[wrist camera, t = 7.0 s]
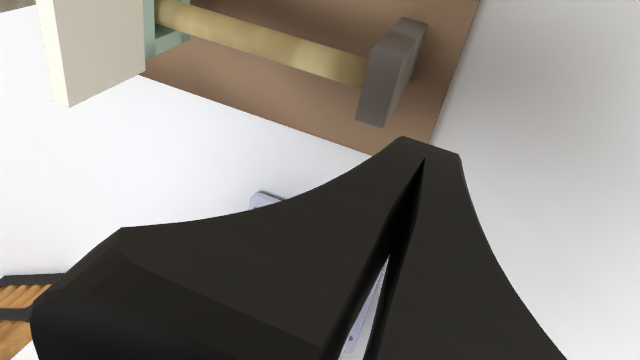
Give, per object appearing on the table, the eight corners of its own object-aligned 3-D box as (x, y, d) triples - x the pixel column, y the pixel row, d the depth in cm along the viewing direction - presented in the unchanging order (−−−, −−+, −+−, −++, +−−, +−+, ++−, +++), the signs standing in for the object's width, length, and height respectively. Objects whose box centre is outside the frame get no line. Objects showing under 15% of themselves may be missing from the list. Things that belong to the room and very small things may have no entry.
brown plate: (421, 161, 22) (392, 239, 17) (66, 39, 25) (-40, 75, 21) (510, -83, 16) (503, -69, 11) (33, -192, 20) (-125, -218, 15)
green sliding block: (189, 49, 19) (69, 107, 14) (108, 22, 20) (-34, 69, 15) (190, -45, 17) (50, -16, 12) (99, -71, 18) (-69, -54, 13)
